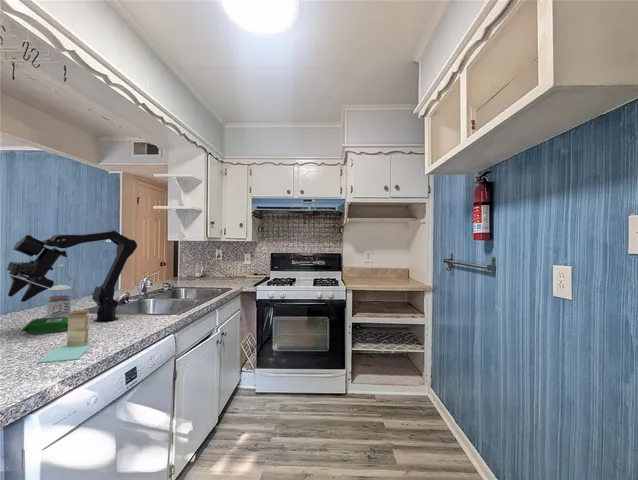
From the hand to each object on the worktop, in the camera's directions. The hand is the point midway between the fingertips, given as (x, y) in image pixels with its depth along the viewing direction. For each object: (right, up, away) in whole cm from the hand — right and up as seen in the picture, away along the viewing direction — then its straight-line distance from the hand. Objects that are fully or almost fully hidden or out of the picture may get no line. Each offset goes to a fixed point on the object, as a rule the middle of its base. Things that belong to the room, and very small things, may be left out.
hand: (15, 298), depth 107 cm
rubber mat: (+31, -15, -13) cm, 37 cm away
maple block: (+28, -15, -5) cm, 32 cm away
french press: (-7, -14, +26) cm, 31 cm away
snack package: (+6, -15, +8) cm, 18 cm away
